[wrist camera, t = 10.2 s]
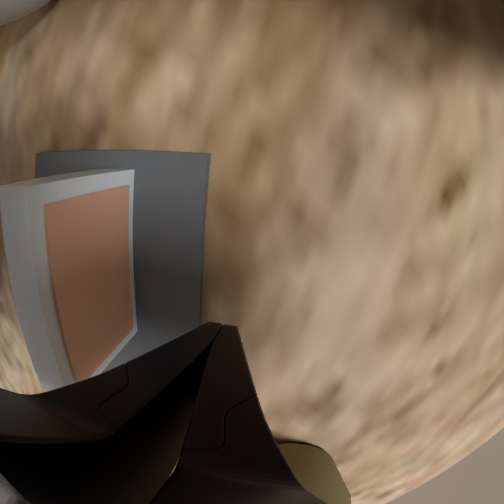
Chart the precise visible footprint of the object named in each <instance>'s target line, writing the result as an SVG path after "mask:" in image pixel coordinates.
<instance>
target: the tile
mask: <svg viewBox="0 0 504 504" xmlns="http://www.w3.org/2000/svg"><path fill="white" fill-rule="evenodd" d="M133 190H134V169H113V168H103V169H95V170H87V171H80V172H73V173H66V174H60V175H53V176H47V177H42V178H36V179H31V180H25V181H20V182H15V183H10V184H6V185H1V186H0V206H1V220H2V231H3V240H4V247H5V255H6V261H7V267H8V273H9V278H10V283H11V288H12V293H13V297H14V302H15V306H16V310H17V314H18V318H19V322H20V325H21V329H22V332H23V335H24V339H25V342H26V345H27V348H28V351H29V354H30V357H31V360H32V363H33V366H34V368H35V371H36V374H37V376H38V379H39V381H40V384H41V386H42V389H43V391H44V392H47V391H51V390H54V389H57V388H60V387H64V386H67V385H70V384H73V383H76V382H79V381H82V380H85V379H88V378H91V377H93V376H96V375H99V374H101V373H102V371H103V370H104V369H105V368H106V367H107V366H108V365H109V363H110V362H111V361H112V360H113V359H114V358H115V356H116V355H117V354H118V353H119V352H120V351H121V350H122V348H123V347H124V346H125V345H126V344H127V343H128V342H129V340H130V339H131V338H132V337H133V336H134V335H135V334H136V332H137V331H138V330H137V319H136V307H135V291H134V270H133Z"/></svg>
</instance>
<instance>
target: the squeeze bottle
mask: <svg viewBox="0 0 504 504" xmlns="http://www.w3.org/2000/svg"><path fill="white" fill-rule="evenodd" d="M278 446H279V448H280V450H281V451H282V453H283V455H284V457H285V459H286V460H287V462H288V464H289V466H290V468H291V469H292V471H293V473H294V474H295V476H296V478H297V479H298V480H299V482H300V483H301V484H302V485H303V486H304V488H306V489H307V490H308V491H309V492H310V493H312V494H313V495H315V496H317V497H318V498H320V499H321V500H323V501H325V502H326V503H328V504H351V495H350V493H349V491H348V489H347V487H346V485H345V483H344V481H343V479H342V477H341V475H340V473H339V471H338V469H337V467H336V465H335V463H334V461H333V459H332V457H331V456H330V455H329V454H328V453H326V452H325V451H324V450H322V449H319V448H316V447H314V446H311V445H305V444H296V443H284V444H278Z"/></svg>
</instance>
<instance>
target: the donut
mask: <svg viewBox="0 0 504 504" xmlns="http://www.w3.org/2000/svg"><path fill="white" fill-rule="evenodd" d="M49 1H51V0H0V25H3V24H6V23H9V22H13V21H16V20H19V19H22V18H24V17H26V16H27V15H29V14H31V13H33V12H34V11H36V10H38V9H40V8H42V7H43V6H45V5H46V4H47V3H48V2H49Z"/></svg>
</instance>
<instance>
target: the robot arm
mask: <svg viewBox="0 0 504 504" xmlns="http://www.w3.org/2000/svg"><path fill="white" fill-rule="evenodd" d="M181 451H182V452H181ZM179 456H180V458H179ZM178 458H179V461H178V463H177V466H176V468H175V470H174V472H173V473H172V474H171V472H172V470H173V468H174V466H175V464H176V462H177V460H178ZM170 474H171V476H170ZM169 476H170V477H169ZM0 504H328V503H326V502H325V501H323V500H321V499H320V498H318V497H317V496H315V495H313V494H312V493H310V492H309V491H308V490H307V489H306V488H304V486H303V485H302V484H301V483H300V482H299V480H298V479H297V478H296V476H295V474H294V473H293V471H292V469H291V468H290V466H289V464H288V462H287V460H286V459H285V457H284V455H283V453H282V451H281V450H280V448H279V446H278V444H277V442H276V440H275V438H274V437H273V435H272V433H271V430H270V428H269V426H268V424H267V422H266V420H265V417H264V414H263V411H262V409H261V406H260V402H259V399H258V397H257V393H256V390H255V386H254V383H253V380H252V376H251V373H250V369H249V366H248V362H247V359H246V356H245V352H244V349H243V345H242V341H241V338H240V334H239V331H238V328H237V327H236V326H231V325H222V324H220V323H215V322H207V323H205V324H203V325H201V326H199V327H198V328H196V329H194V330H192V331H190V332H188V333H186V334H184V335H182V336H180V337H178V338H176V339H174V340H172V341H170V342H168V343H165V344H163V345H161V346H159V347H157V348H155V349H153V350H151V351H149V352H147V353H145V354H143V355H141V356H139V357H137V358H134V359H132V360H130V361H128V362H126V364H125V363H124V364H122V365H119V366H117V367H115V368H113V369H111V370H108V371H106V372H104V373H101V374H99V375H96V376H93V377H91V378H88V379H85V380H82V381H79V382H76V383H73V384H70V385H67V386H64V387H60V388H57V389H54V390H51V391H47V392H44V393H40V394H33V395H25V394H18V393H14V392H11V391H8V390H4V389H1V388H0Z"/></svg>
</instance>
